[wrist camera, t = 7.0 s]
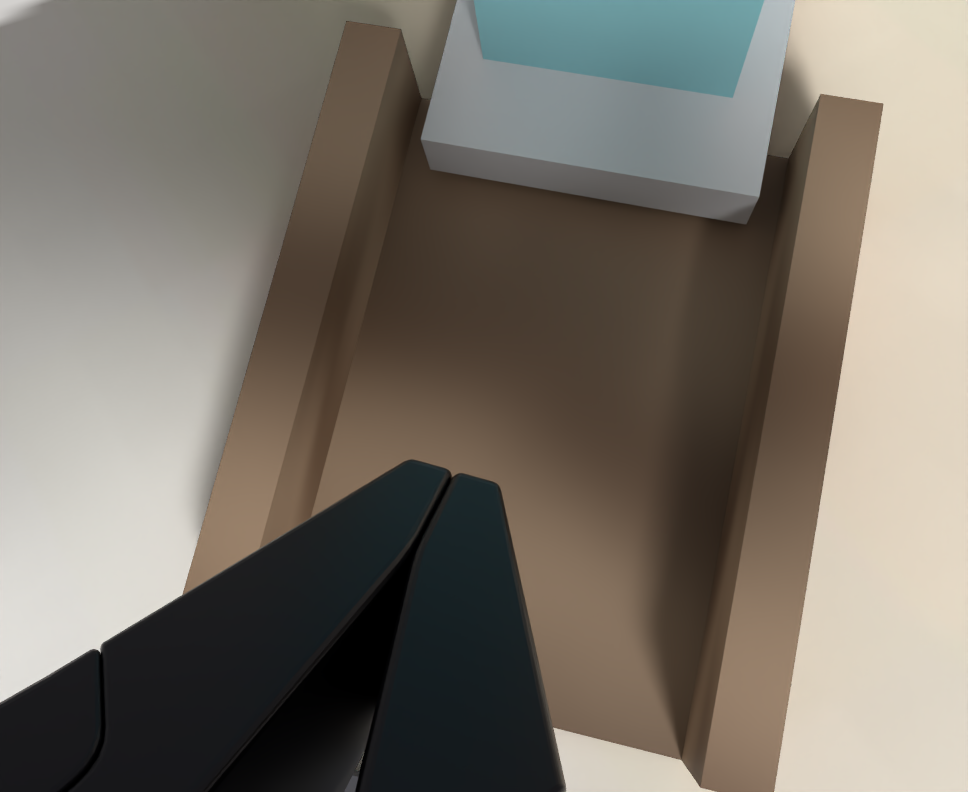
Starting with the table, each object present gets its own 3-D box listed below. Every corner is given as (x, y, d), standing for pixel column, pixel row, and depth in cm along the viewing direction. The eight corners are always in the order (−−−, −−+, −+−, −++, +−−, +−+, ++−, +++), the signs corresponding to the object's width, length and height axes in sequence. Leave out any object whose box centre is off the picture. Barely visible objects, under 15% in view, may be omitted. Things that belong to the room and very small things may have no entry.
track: (739, 772, 15) (772, 805, 13) (225, 642, 17) (166, 650, 14) (839, 172, 18) (883, 103, 15) (375, 95, 19) (346, 21, 16)
